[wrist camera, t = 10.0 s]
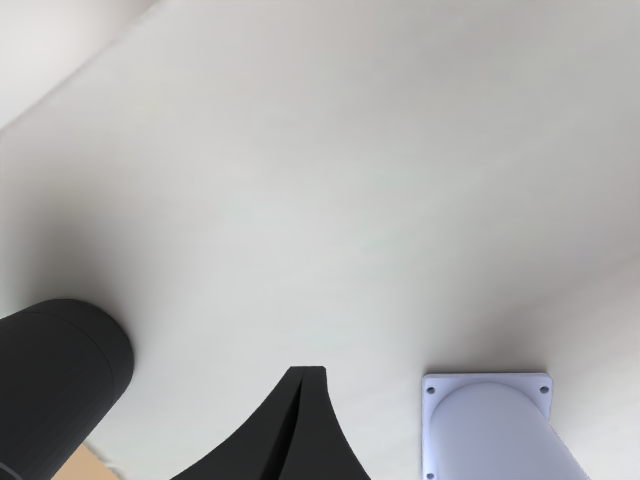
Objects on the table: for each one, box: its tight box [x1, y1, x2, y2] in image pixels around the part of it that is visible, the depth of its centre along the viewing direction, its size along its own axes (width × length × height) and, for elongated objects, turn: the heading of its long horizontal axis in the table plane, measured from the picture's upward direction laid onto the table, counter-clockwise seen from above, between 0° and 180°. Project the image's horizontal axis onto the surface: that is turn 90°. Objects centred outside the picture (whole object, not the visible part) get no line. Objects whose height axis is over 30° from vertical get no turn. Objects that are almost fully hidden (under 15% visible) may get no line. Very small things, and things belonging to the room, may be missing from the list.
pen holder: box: [0, 299, 134, 480], centre depth 20 cm, size 9×9×10 cm
